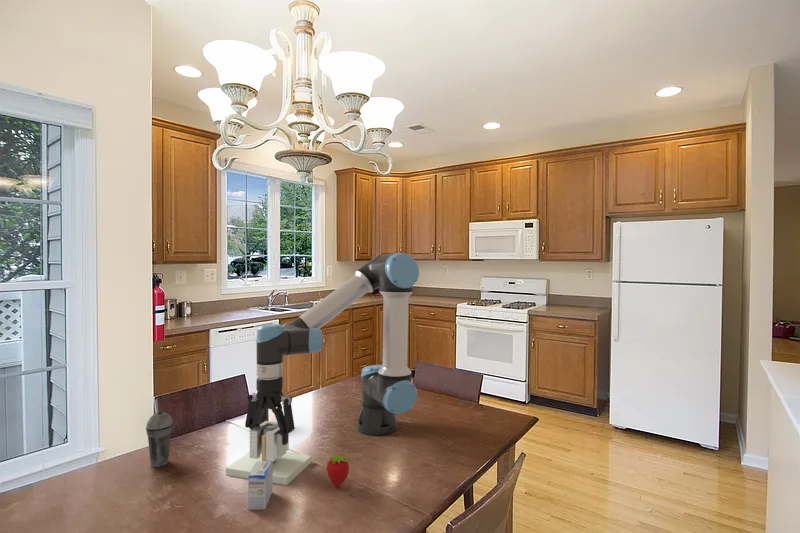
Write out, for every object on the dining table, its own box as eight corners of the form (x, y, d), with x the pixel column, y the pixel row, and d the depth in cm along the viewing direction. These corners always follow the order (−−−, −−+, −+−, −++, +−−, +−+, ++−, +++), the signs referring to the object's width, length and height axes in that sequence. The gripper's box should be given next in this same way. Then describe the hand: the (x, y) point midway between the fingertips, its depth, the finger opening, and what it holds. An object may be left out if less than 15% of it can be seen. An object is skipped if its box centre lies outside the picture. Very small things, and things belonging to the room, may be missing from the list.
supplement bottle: (271, 424, 160) (271, 393, 160) (264, 432, 153) (264, 399, 153) (254, 424, 161) (254, 392, 160) (246, 431, 154) (245, 398, 154)
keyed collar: (249, 457, 123) (249, 430, 123) (265, 446, 130) (265, 420, 130) (273, 461, 121) (273, 433, 121) (288, 449, 128) (288, 423, 128)
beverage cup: (178, 460, 131) (178, 396, 131) (158, 471, 124) (158, 403, 124) (160, 456, 133) (160, 393, 133) (139, 467, 126) (139, 400, 126)
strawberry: (343, 478, 120) (343, 443, 120) (352, 491, 113) (352, 454, 113) (323, 483, 117) (323, 447, 117) (331, 496, 110) (331, 458, 110)
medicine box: (255, 493, 112) (255, 461, 112) (273, 492, 112) (272, 460, 112) (247, 510, 104) (247, 475, 104) (266, 509, 104) (266, 475, 104)
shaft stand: (225, 474, 122) (225, 433, 122) (255, 454, 135) (255, 416, 135) (286, 485, 116) (286, 441, 116) (311, 462, 129) (311, 423, 129)
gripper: (231, 377, 125) (231, 453, 125) (294, 382, 119) (293, 463, 119) (247, 371, 132) (247, 443, 132) (307, 376, 126) (307, 452, 126)
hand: (269, 452), depth 126 cm, fingers closed on keyed collar, 8 cm apart
